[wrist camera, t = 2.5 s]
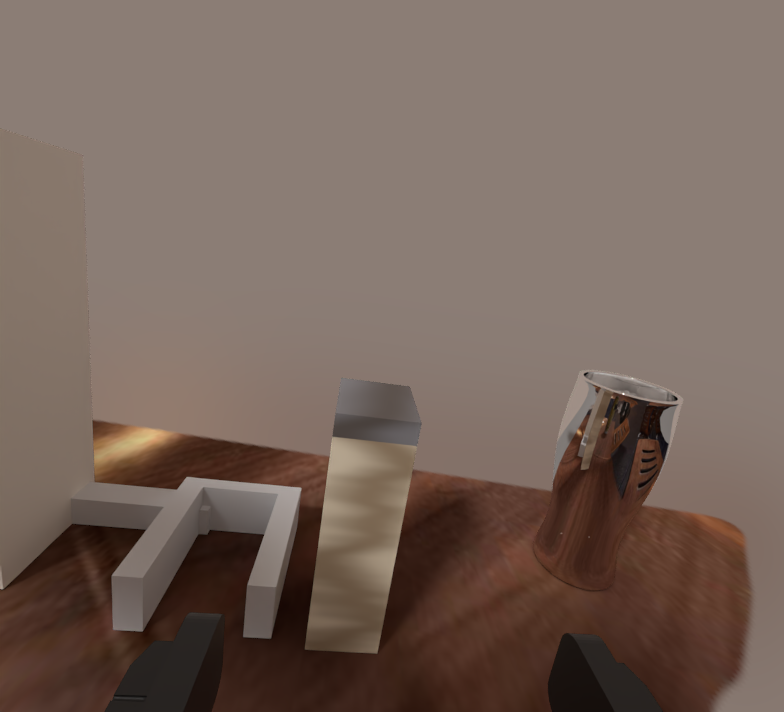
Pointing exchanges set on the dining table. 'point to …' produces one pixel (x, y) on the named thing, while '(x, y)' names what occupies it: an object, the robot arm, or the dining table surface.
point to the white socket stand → (74, 414)
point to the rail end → (362, 514)
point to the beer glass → (603, 473)
